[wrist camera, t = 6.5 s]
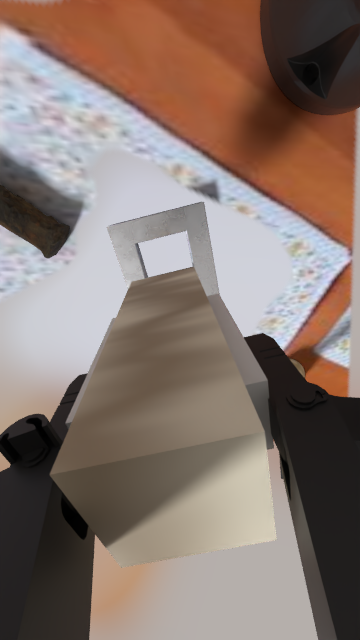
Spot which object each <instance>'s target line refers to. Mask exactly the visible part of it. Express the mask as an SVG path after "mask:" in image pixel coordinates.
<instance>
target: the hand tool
mask: <svg viewBox="0 0 360 640" xmlns="http://www.w3.org/2000/svg"><path fill="white" fill-rule="evenodd" d="M0 225H2V226H3V227H5V228H6V229H8V230H9V231H11V232H13V233H14V234H16V235H18V236H19V237H21V238H23V239H24V240H26V241H28V242H29V243H31V244H32V245H34V246H35V247H37V248H38V249H39V250H41V251H42V253H43V255H44V257H45V258H50V257H52V256H54V255H56V254H57V253H58V251H59V250H60V249H61V247H62V245H63V244H64V242H65V241H66V239H67V237H68V234H69V230H70V227H69V226H67V225H65V224H60V223H58V222H57V220H56V219H54V218H53V217H52V216H47V215H45V214H44V213H43V212H41V211H40V210H38V209H37V208H35V207H34V206H33V205H32V204H30V203H29V202H27V201H25V200H24V199H23V198H21V197H20V196H18V195H17V196H16V195H15V194H13V193H12V192H10V191H9V190H7V189H6V188H5V187H4V186H2V185H0Z"/></svg>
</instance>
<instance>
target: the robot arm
mask: <svg viewBox="0 0 360 640" xmlns="http://www.w3.org/2000/svg"><path fill="white" fill-rule="evenodd" d="M260 23H261V36H262V43H263V48H264V53H265V56H266V60H267V63H268V66H269V69H270V71H271V74H272V76H273V78H274V80H275V81H276V83H277V85H278V86H279V88H280V89H281V91H282V92H283V93H284V94H285V95H286V97H287V98H288V99H289V100H291V101H292V102H293V103H294V104H295V105H297V106H298V107H300V108H302V109H304V110H306V111H308V112H311V113H315V114H320V115H336V114H342V113H346V112H349V111H352V110H354V109H357V108H359V107H360V0H261V6H260ZM207 298H208V300H209V303H210V305H211V307H212V310H213V312H214V314H215V317H216V319H217V321H218V324H219V326H220V328H221V331H222V333H223V335H224V338H225V340H226V342H227V345H228V347H229V349H230V352H231V354H232V356H233V359H234V361H235V363H236V366H237V368H238V370H239V373H240V375H241V377H242V380H243V382H244V384H245V386H246V389H247V391H248V393H249V396H250V398H251V400H252V403H253V405H254V407H255V410H256V412H257V414H258V417H259V419H260V421H261V424H262V426H263V428H264V431H265V438H266V447H267V449H272V448H274V445H273V439H274V441H275V444H276V446H277V448H278V450H279V455H280V469H281V478H282V479H284V483H285V488H286V492H287V497H288V502H289V506H290V511H291V516H292V520H293V525H294V529H295V534H296V538H297V543H298V548H299V552H300V557H301V562H302V566H303V571H304V576H305V580H306V585H307V589H308V594H309V599H310V603H311V608H312V613H313V617H314V622H315V626H316V631H317V636H318V640H360V398H352V397H339V396H333V395H329V394H328V393H327V392H326V390H324V389H322V388H321V387H319V386H318V385H315V384H312V383H309V382H307V381H306V380H305V378H304V377H303V376H302V374H301V373H300V372H299V371H298V369H297V368H296V367H295V365H294V364H293V363H292V362H291V360H290V359H289V358H288V357H287V355H285V353H284V351H283V350H282V349H281V348H280V346H279V345H278V344H277V342H276V341H275V340H274V339H273V338H271V337H269V336H267V335H266V334H264V333H262V334H257V335H253V336H248V337H243V336H242V334H241V332H240V330H239V329H238V327H237V325H236V324H235V322H234V320H233V318H232V316H231V315H230V313H229V311H228V309H227V308H226V306H225V304H224V302H223V301H222V299H221V297H220V295H219V294H214V295H210V296H207ZM115 319H116V318H113V319H112V321H111V323H110V325H109V328H108V330H107V332H106V334H105V336H104V339H103V341H102V343H101V345H100V348H99V350H98V352H97V354H96V357H95V359H94V361H93V363H92V365H91V367H90V370H89V372H88V373H87V374H83V375H79V376H78V377H77V378H76V379H75V380H74V381H73V382H72V383H71V384H70V385H69V387H68V389H67V391H66V393H65V394H64V397H63V398H62V400H61V402H60V405H59V406H58V408H57V410H56V412H55V413H54V415H53V417H52V419H51V421H50V422H49V421H48V419H47V418H46V417H45V416H44V415H42V414H33V415H29V416H27V417H24V418H22V419H20V420H18V421H17V422H15V423H14V424H12V425H11V426H10V427H8V428H7V429H6V430H5V431H4V432H3V433H2V434H1V435H0V452H1V453H2V454H3V456H4V457H5V458H6V459H7V460H8V461H9V463H10V464H11V465H10V467H9V468H7V469H5V470H3V471H1V472H0V640H89V631H90V613H91V595H92V577H93V559H94V540H95V533H94V532H93V531H92V529H91V528H90V527H89V525H88V524H87V523H86V522H85V520H84V519H83V518H82V516H81V515H80V514H79V512H78V511H77V510H76V509H75V507H74V506H73V505H72V503H71V502H70V501H69V500H68V498H67V497H66V496H65V494H64V493H63V492H62V490H61V489H60V488H59V487H58V485H57V484H56V483H55V481H54V480H53V479H52V478H51V476H50V472H51V470H52V468H53V465H54V463H55V461H56V458H57V456H58V454H59V451H60V449H61V446H62V444H63V442H64V439H65V437H66V435H67V432H68V430H69V428H70V425H71V423H72V421H73V418H74V416H75V414H76V411H77V409H78V406H79V404H80V402H81V399H82V397H83V395H84V392H85V390H86V388H87V385H88V383H89V381H90V378H91V376H92V374H93V371H94V369H95V366H96V364H97V362H98V359H99V357H100V355H101V352H102V350H103V348H104V345H105V343H106V341H107V338H108V336H109V334H110V331H111V329H112V326H113V324H114V322H115Z"/></svg>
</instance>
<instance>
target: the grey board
mask: <svg viewBox="0 0 360 640" xmlns="http://www.w3.org/2000/svg"><path fill="white" fill-rule="evenodd" d="M107 229H108V232H109V235H110V238H111V241H112V244H113V247H114V250H115V253H116V256H117V258H118V261H119V264H120V267H121V270H122V273H123V276H124V279H125V282H126V284H127V288H128V289H129V286H130V284H131V282H132V281H137V280H141V279H145V278H148V276H147V273H146V269H145V266H144V262H143V259H142V256H141V252H140V249H139V246H138V243H139V242H143V241H148V240H152V239H155V238H159V237H163V236H167V235H171V234H175V233H179V232H183V231H186V235H187V239H188V245H189V249H190V254H191V258H192V264H193V267H194V268H195V270H196V273H197V275H198V277H199V280H200V282H201V284H202V286H203V289H204V291H205V293H206V296H210V295H214V294H219V289H218V284H217V277H216V271H215V266H214V259H213V253H212V247H211V242H210V236H209V230H208V224H207V218H206V212H205V206H204V202H199V203H195V204H192V205H187V206H183V207H180V208H176V209H172V210H168V211H164V212H160V213H156V214H152V215H149V216H145V217H141V218H137V219H133V220H129V221H125V222H121V223H117V224H113V225H110V226H108V227H107Z"/></svg>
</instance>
